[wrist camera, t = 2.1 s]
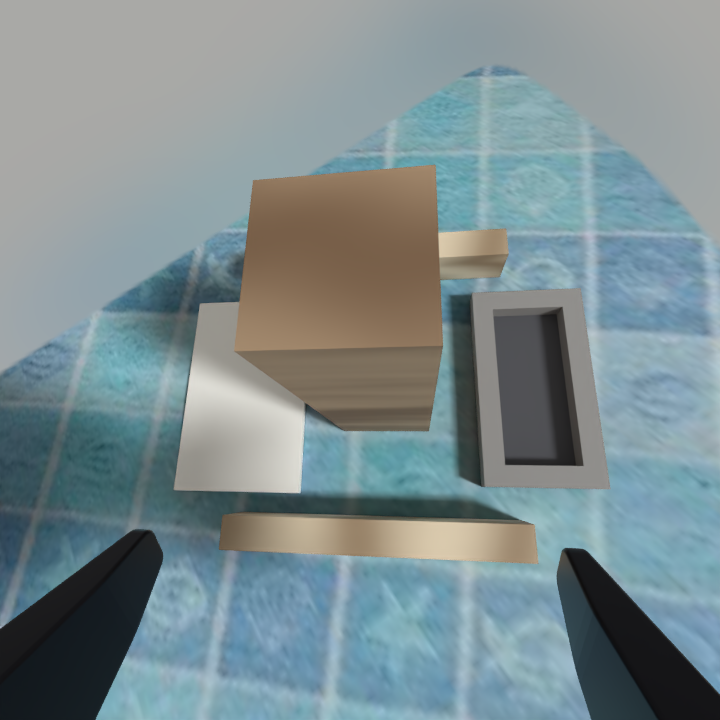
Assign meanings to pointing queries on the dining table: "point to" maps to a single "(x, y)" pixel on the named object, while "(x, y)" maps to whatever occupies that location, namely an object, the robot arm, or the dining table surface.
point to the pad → (236, 417)
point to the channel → (394, 533)
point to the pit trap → (536, 391)
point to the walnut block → (346, 294)
